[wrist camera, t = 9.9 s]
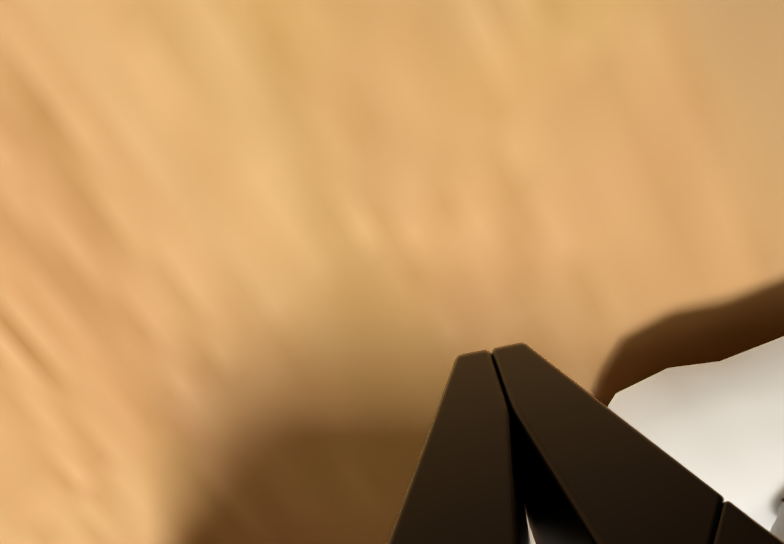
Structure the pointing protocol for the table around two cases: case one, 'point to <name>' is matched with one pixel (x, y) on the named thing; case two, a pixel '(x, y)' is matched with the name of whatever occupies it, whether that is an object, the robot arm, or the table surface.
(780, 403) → the figurine
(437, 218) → the table surface
